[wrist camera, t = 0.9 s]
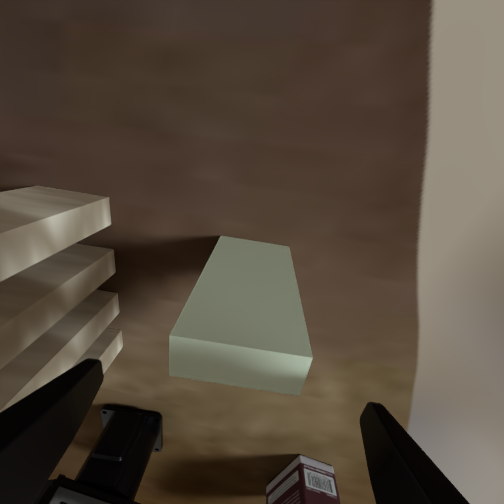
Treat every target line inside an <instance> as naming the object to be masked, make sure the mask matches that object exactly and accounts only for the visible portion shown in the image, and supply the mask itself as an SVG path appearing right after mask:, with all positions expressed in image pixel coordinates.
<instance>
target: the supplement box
mask: <svg viewBox="0 0 504 504" xmlns="http://www.w3.org/2000/svg"><path fill="white" fill-rule="evenodd" d="M266 504H340V499H339V494H338V489H337V484H336V480H335V475H334V470H333V467H332V466H330V465H328V464H325V463H322V462H319V461H316V460H314V459H311V458H309V457H305V456H302V455H299V456H298V457H297V458H296V459H295V460H294V461H293V462H292V463H291V464H290V465H289V466H288V467H286V468H285V469H284V470H283V471H282V472H281V473H280V474H279V475H278V476H277V477H276V478H275V479H274V480H273V481H272V482H271V483H270V484H269V485H267V487H266Z"/></svg>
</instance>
